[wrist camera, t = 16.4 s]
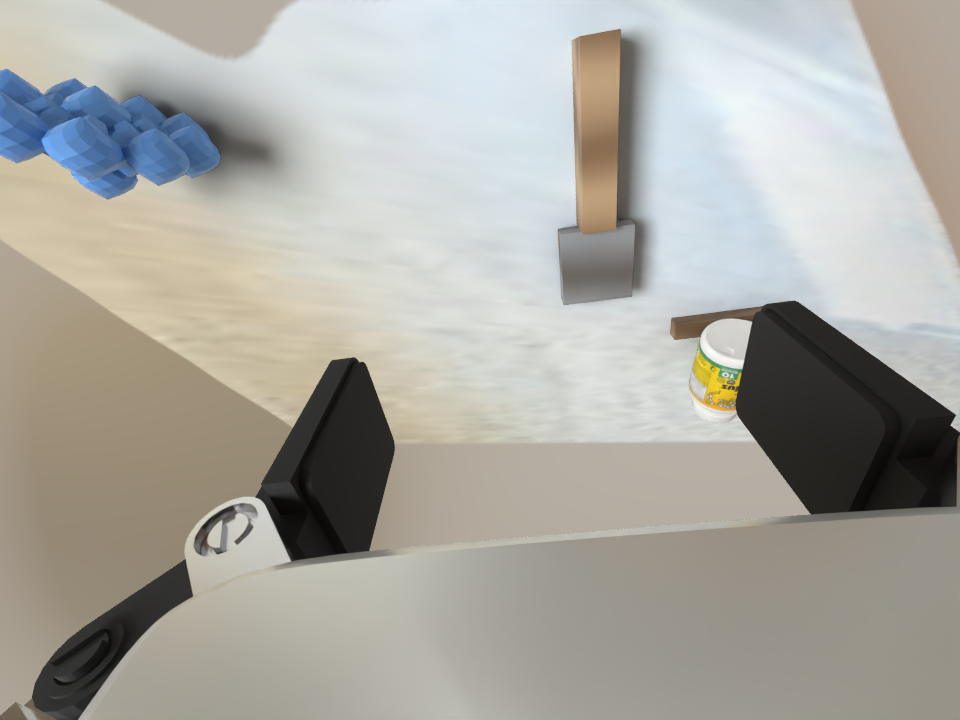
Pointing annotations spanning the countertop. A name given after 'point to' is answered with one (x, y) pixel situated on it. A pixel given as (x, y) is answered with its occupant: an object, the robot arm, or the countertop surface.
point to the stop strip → (706, 322)
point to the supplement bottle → (719, 369)
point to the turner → (596, 180)
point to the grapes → (100, 135)
